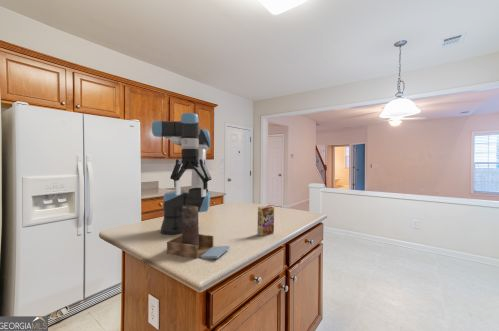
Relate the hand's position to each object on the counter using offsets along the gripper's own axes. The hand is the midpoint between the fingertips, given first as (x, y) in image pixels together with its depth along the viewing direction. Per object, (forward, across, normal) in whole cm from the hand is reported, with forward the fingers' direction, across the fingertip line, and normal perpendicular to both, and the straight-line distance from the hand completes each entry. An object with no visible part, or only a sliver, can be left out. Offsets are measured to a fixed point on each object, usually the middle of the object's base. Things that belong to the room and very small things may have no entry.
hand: (190, 195), depth 104 cm
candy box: (+26, +25, +36) cm, 50 cm away
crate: (+26, +1, 0) cm, 26 cm away
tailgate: (+24, +8, 0) cm, 26 cm away
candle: (+25, 0, 0) cm, 25 cm away
